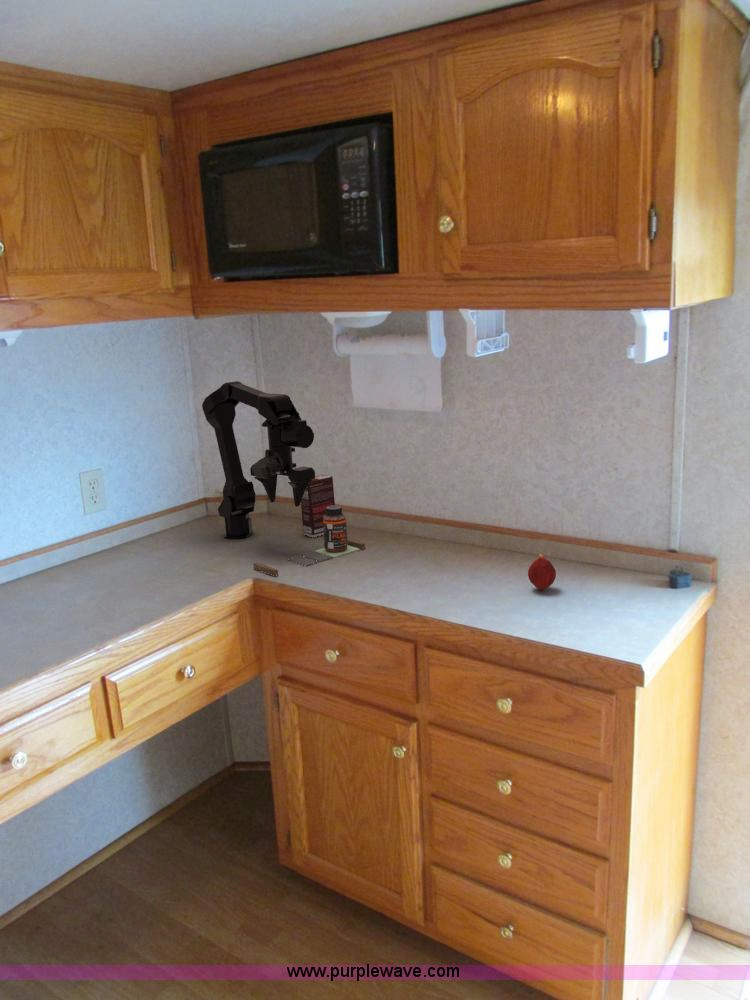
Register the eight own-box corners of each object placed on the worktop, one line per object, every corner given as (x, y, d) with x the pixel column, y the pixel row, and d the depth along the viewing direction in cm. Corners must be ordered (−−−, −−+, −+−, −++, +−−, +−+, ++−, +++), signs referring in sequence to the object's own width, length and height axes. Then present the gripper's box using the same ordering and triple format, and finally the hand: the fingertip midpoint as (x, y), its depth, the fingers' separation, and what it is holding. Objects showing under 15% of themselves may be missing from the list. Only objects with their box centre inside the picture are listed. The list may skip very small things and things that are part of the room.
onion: (561, 589, 177) (561, 553, 175) (545, 596, 173) (545, 560, 171) (538, 583, 181) (538, 548, 179) (522, 591, 177) (522, 555, 175)
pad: (333, 557, 207) (333, 556, 207) (314, 551, 213) (314, 550, 213) (359, 549, 213) (359, 548, 213) (340, 544, 219) (340, 543, 218)
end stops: (274, 577, 195) (274, 570, 195) (253, 569, 202) (253, 563, 201) (365, 549, 213) (364, 543, 213) (343, 542, 220) (342, 537, 219)
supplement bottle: (334, 554, 209) (331, 511, 206) (320, 550, 213) (317, 507, 211) (352, 549, 213) (350, 506, 210) (338, 544, 217) (335, 503, 214)
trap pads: (306, 566, 202) (306, 565, 202) (287, 559, 208) (287, 558, 208) (332, 558, 207) (332, 557, 207) (312, 552, 213) (312, 551, 213)
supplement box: (327, 528, 234) (323, 473, 230) (337, 531, 230) (333, 476, 227) (302, 535, 229) (297, 479, 225) (312, 538, 225) (307, 481, 221)
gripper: (231, 447, 211) (237, 506, 214) (282, 453, 199) (287, 515, 203) (264, 440, 219) (269, 497, 223) (314, 445, 207) (318, 505, 211)
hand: (284, 504), depth 214 cm, fingers open, 9 cm apart
